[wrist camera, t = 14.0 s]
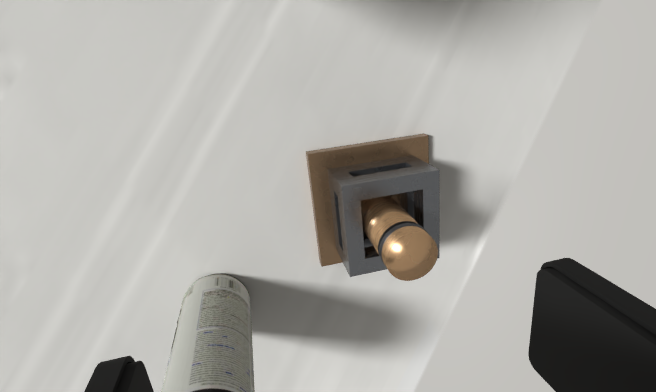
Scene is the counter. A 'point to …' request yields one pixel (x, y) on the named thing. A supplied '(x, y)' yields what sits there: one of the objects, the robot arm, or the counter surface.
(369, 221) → the copper tube
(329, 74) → the counter surface
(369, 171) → the collar stand
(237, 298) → the spray can
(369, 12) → the counter surface
